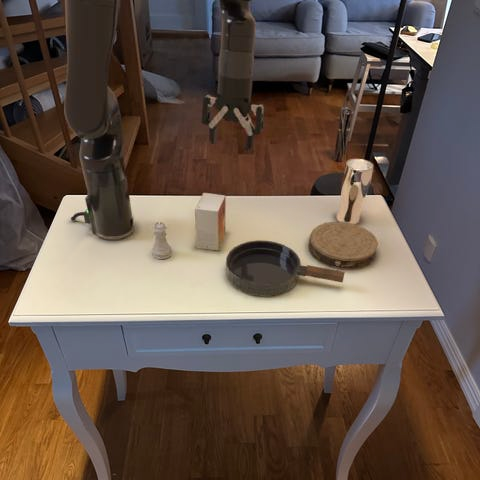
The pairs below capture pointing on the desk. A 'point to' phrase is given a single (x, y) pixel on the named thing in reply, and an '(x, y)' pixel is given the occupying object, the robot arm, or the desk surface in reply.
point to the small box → (210, 221)
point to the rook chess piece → (161, 242)
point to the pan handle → (321, 273)
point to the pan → (262, 267)
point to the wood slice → (342, 245)
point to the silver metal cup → (354, 189)
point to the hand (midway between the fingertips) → (230, 146)
